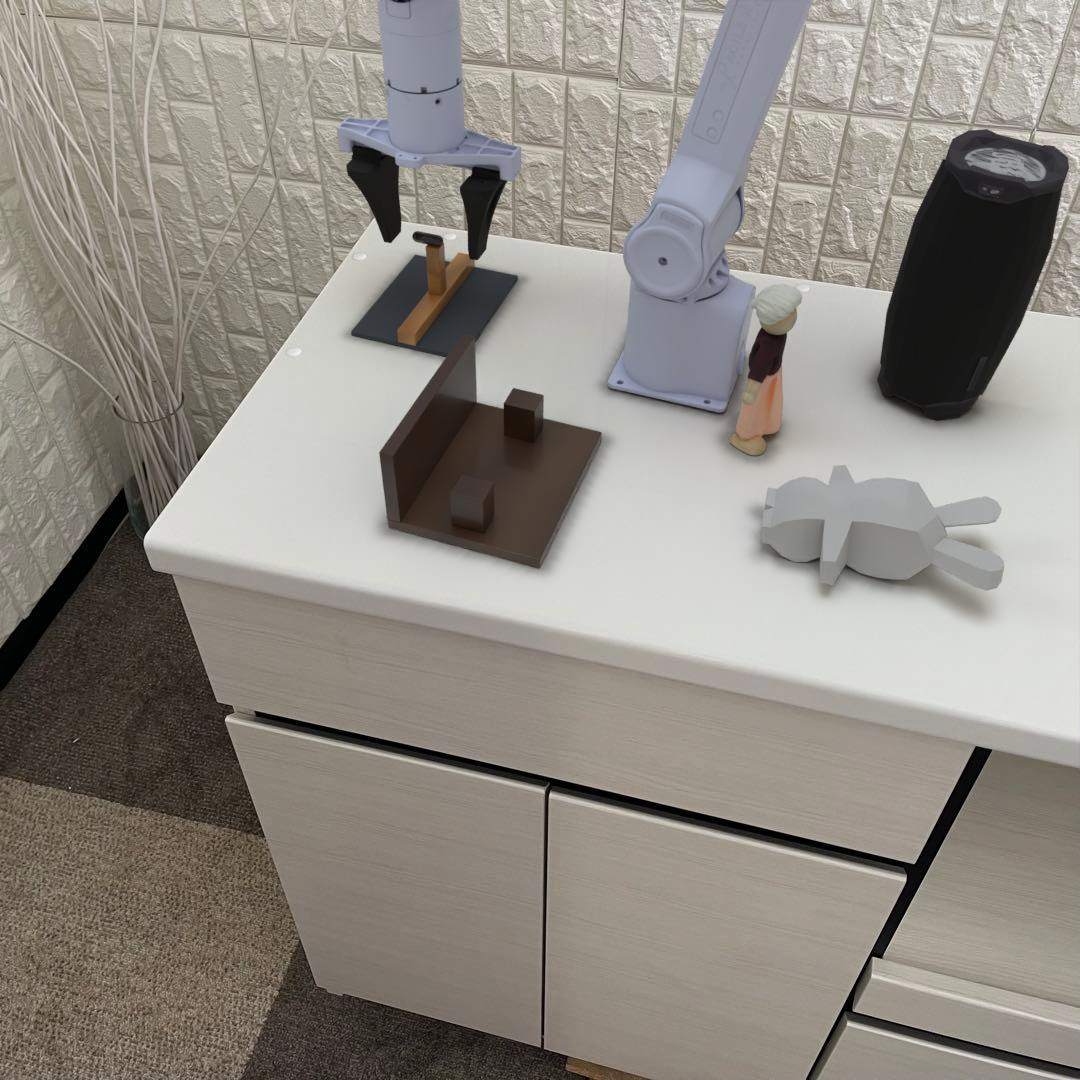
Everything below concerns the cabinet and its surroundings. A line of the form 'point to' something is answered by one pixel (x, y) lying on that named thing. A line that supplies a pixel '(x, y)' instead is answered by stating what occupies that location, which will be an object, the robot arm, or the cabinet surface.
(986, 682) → the cabinet surface
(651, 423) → the cabinet surface
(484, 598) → the cabinet surface
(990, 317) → the portable speaker
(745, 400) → the grandmother figurine
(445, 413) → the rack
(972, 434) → the cabinet surface
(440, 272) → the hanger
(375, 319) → the pad
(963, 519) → the bunny figurine
